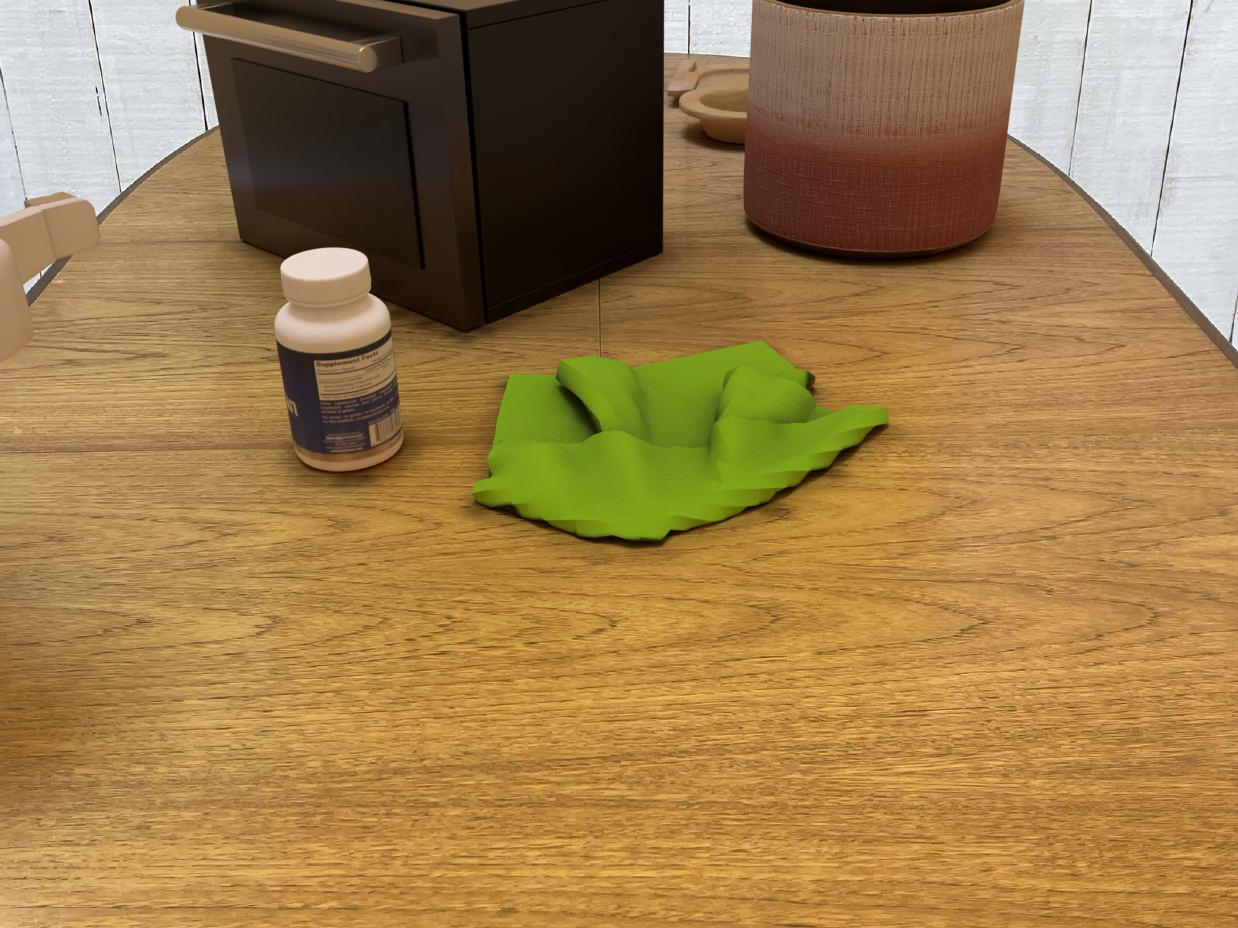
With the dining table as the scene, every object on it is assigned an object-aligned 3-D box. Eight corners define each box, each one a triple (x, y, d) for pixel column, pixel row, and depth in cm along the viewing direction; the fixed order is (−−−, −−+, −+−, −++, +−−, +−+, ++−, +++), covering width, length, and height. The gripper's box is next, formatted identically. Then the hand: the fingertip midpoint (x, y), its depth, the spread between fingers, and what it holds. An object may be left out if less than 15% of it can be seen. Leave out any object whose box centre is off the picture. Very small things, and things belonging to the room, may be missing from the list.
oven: (488, 323, 75) (466, 10, 66) (262, 234, 90) (218, -35, 80) (663, 251, 85) (665, -29, 76) (435, 181, 100) (413, -63, 91)
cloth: (425, 530, 56) (420, 483, 55) (536, 329, 74) (534, 291, 73) (893, 570, 53) (898, 522, 51) (886, 350, 71) (890, 311, 70)
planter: (1000, 194, 95) (1032, -27, 87) (986, 278, 80) (1022, 22, 72) (769, 175, 100) (779, -36, 92) (716, 252, 85) (722, 9, 77)
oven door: (423, 349, 72) (387, 30, 63) (199, 251, 86) (143, -21, 77) (485, 322, 75) (460, 14, 66) (258, 232, 89) (212, -32, 80)
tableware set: (449, 163, 104) (445, 114, 102) (473, 79, 129) (470, 38, 127) (871, 153, 104) (875, 104, 102) (812, 72, 130) (815, 31, 128)
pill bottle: (287, 432, 64) (257, 250, 59) (392, 414, 65) (371, 235, 61) (303, 483, 59) (272, 291, 55) (415, 462, 61) (394, 273, 56)
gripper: (-359, 291, 30) (161, 162, 39) (-524, 139, 42) (-98, 67, 51) (-264, 512, 33) (198, 347, 42) (-442, 312, 46) (-55, 216, 54)
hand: (34, 193), depth 47 cm, fingers open, 7 cm apart
